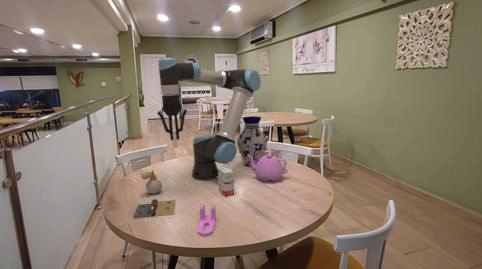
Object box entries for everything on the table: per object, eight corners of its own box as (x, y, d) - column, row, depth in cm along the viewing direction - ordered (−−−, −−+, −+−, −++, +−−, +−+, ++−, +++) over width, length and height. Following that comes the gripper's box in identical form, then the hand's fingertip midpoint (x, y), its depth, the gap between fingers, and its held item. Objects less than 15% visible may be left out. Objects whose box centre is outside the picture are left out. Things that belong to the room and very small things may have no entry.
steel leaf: (158, 205, 122) (157, 199, 122) (155, 216, 113) (154, 209, 112) (138, 207, 121) (137, 200, 120) (133, 218, 111) (132, 211, 111)
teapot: (245, 183, 145) (245, 158, 142) (248, 173, 160) (248, 150, 158) (288, 184, 142) (288, 158, 140) (287, 174, 158) (287, 150, 155)
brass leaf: (175, 205, 123) (174, 199, 123) (173, 215, 114) (173, 209, 113) (159, 206, 122) (158, 200, 122) (156, 217, 113) (155, 211, 112)
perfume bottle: (164, 189, 140) (162, 167, 137) (157, 197, 130) (154, 173, 128) (150, 189, 140) (148, 166, 138) (141, 197, 131) (139, 173, 129)
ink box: (234, 195, 131) (234, 171, 129) (225, 197, 129) (224, 172, 127) (227, 188, 139) (226, 166, 137) (218, 190, 137) (217, 167, 134)
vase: (241, 170, 167) (239, 120, 161) (235, 161, 185) (233, 116, 179) (271, 167, 171) (271, 118, 165) (262, 158, 189) (262, 115, 183)
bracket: (201, 218, 110) (201, 202, 109) (216, 218, 110) (215, 202, 109) (196, 237, 97) (195, 218, 96) (212, 236, 97) (211, 218, 96)
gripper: (185, 93, 126) (189, 143, 131) (155, 95, 123) (161, 146, 128) (186, 94, 119) (190, 147, 124) (154, 96, 116) (160, 150, 121)
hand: (175, 146), depth 126 cm, fingers closed
